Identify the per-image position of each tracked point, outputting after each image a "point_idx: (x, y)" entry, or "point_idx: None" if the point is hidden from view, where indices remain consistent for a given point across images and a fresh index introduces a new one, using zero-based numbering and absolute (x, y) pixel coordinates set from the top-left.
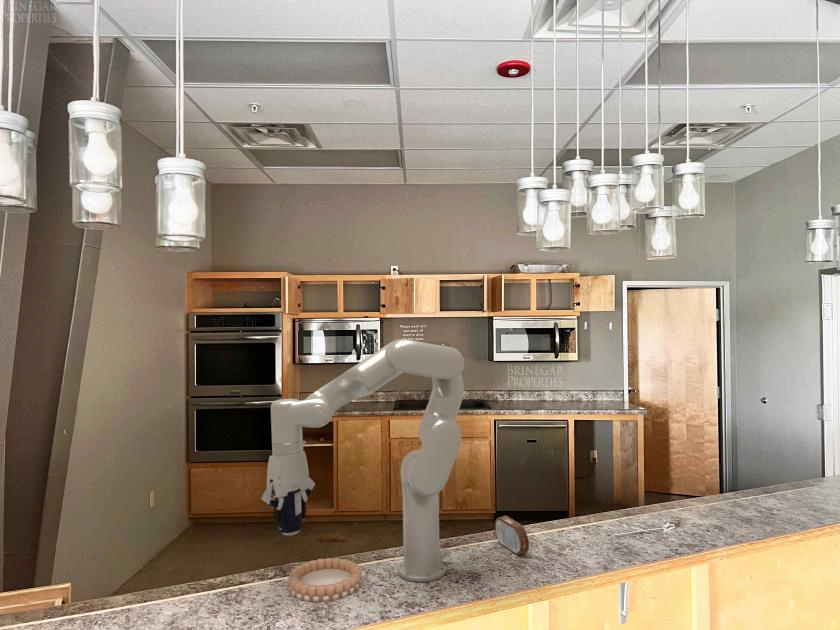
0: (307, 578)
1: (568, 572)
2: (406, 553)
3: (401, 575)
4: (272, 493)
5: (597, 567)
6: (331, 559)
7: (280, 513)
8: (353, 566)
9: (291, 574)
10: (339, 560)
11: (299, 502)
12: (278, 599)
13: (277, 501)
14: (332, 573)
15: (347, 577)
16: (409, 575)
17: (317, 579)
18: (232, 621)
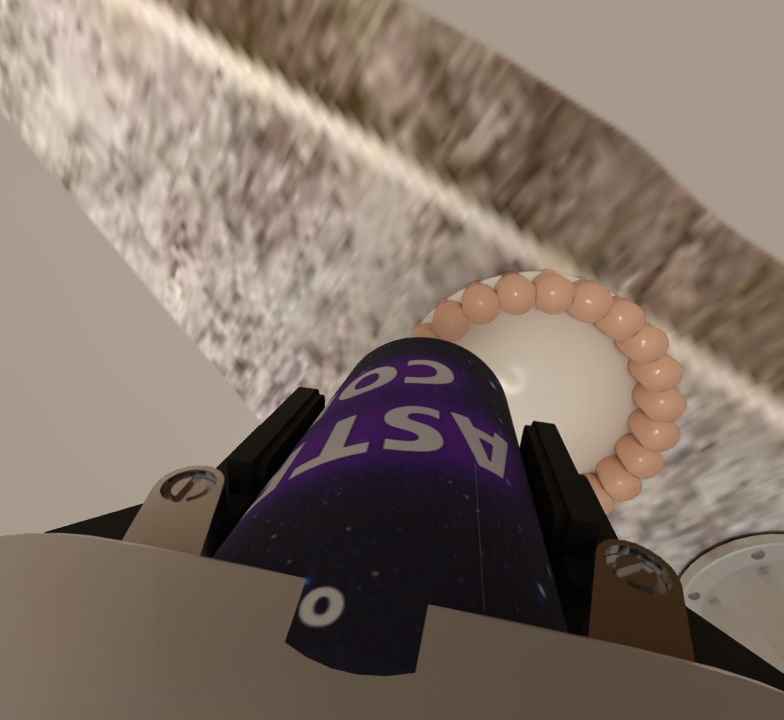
0: (500, 340)
1: None
2: (756, 651)
3: (689, 572)
4: (73, 555)
5: None
6: (654, 355)
7: None
8: (628, 472)
9: (441, 323)
10: (660, 391)
11: None
12: (355, 345)
13: (208, 549)
14: (585, 388)
15: (582, 452)
16: (687, 603)
17: (514, 376)
18: (196, 337)
